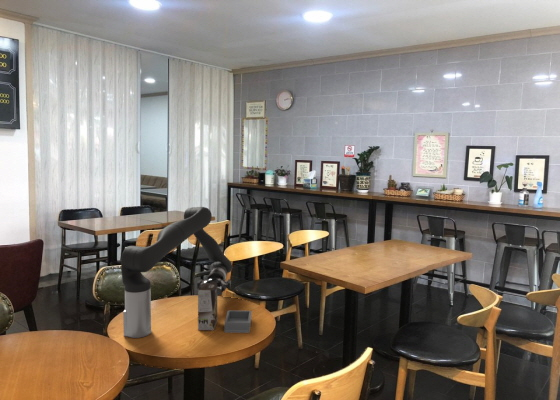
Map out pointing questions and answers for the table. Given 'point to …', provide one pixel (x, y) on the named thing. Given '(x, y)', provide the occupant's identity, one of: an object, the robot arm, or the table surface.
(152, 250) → the robot arm
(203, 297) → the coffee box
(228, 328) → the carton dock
